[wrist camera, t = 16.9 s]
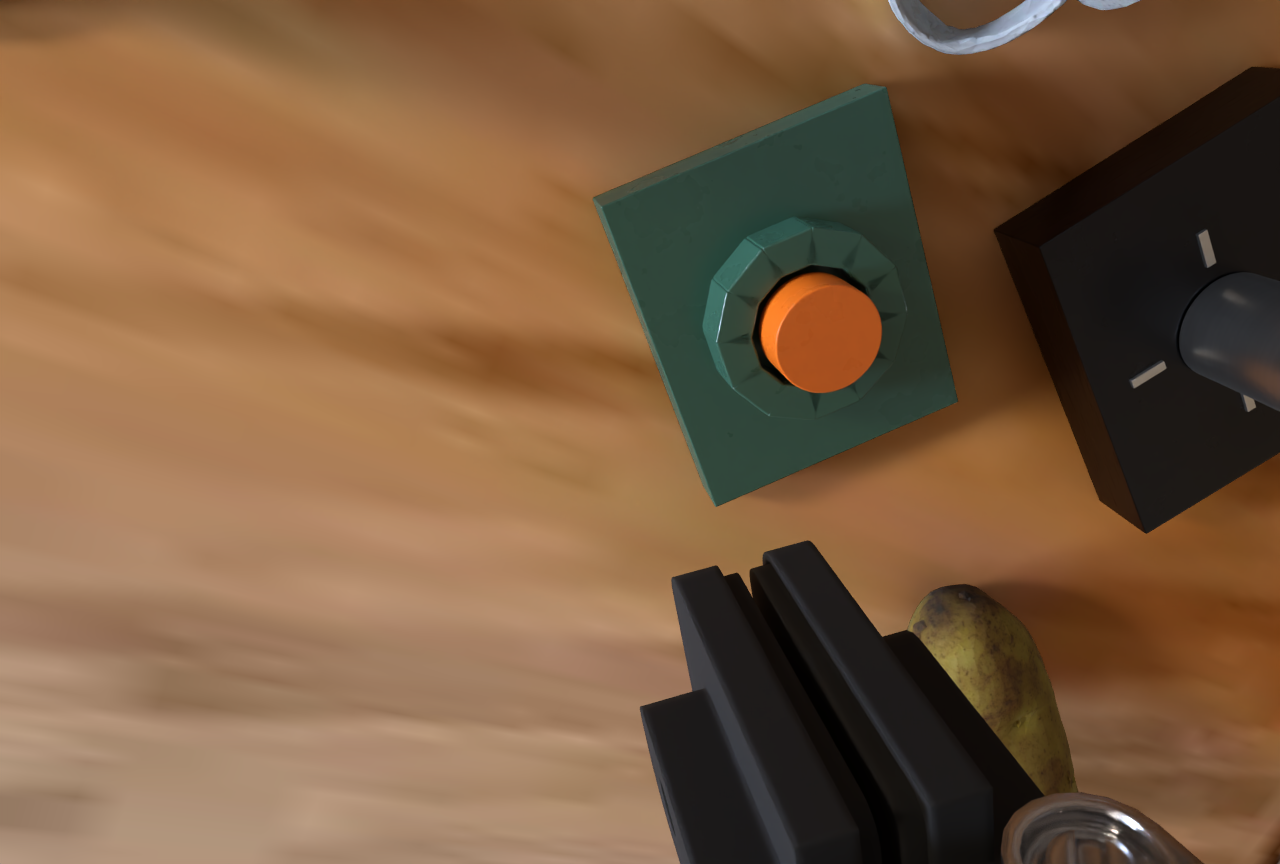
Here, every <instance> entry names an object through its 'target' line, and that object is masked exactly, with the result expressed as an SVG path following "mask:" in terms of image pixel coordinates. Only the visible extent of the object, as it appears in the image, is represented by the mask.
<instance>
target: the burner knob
mask: <svg viewBox="0 0 1280 864" xmlns="http://www.w3.org/2000/svg"><path fill="white" fill-rule="evenodd" d="M1179 347H1180V352H1181V355H1182V358H1183V360H1184V362H1185V363H1186V364H1187V366H1188V367H1189V368H1190V369H1191V370H1193V371H1194V372H1196V373H1198V374H1200V375H1202V376H1204V377H1207V378H1209V379H1211V380H1213V381H1215V382H1217V383H1220V384H1222V385H1224V386H1226V387H1228V388H1230V389H1232V390H1235V391H1237V392H1239V393H1241V394H1243V395H1245V396H1248V397H1250V398H1252V399H1254V400H1256V401H1258V402H1260V403H1263V404H1265V405H1267V406H1269V407H1271V408H1273V409H1276V410H1278V411H1280V281H1277V280H1273V279H1270V278H1267V277H1264V276H1261V275H1257V274H1254V273H1249V272H1240V273H1234V274H1230V275H1227V276H1224V277H1222V278H1220V279H1218V280H1216V281H1215V282H1213V283H1212V284H1210V285H1209V286H1208V287H1206V288H1205V289H1204V290H1203V291H1202V292H1201V293H1200V294H1199V295H1198V296H1197V298H1196V299H1195V300H1194V301H1193V303H1192V304H1191V306H1190V307H1189V309H1188V311H1187V312H1186V315H1185V317H1184V319H1183V322H1182V325H1181V329H1180V335H1179Z"/></svg>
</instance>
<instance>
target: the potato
mask: <svg viewBox="0 0 1280 864" xmlns="http://www.w3.org/2000/svg"><path fill="white" fill-rule="evenodd" d="M907 630H908V631H910V632H913V633H914V634H915V635H916V636H917V637H918V638H919V639H920V640H921V641H922V642H923V643H924V645H925V646H926V647H927V648H928V650H929V651H930V652H931V653H932V655H933V656H934V657H935V658H936V660H937V661H938V662H939V663H940V665H941V666H942V667H943V669H944V670H945V671H946V672H947V674H948V675H949V676H950V677H951V679H952V680H953V681H954V682H955V684H956V685H957V686H958V687H959V689H960V690H961V691H962V692H963V694H964V695H965V696H966V697H967V699H968V700H969V701H970V702H971V704H972V705H973V706H974V708H975V709H976V710H977V711H978V713H979V714H980V715H981V716H982V718H983V719H984V720H985V721H986V723H987V724H988V725H989V726H990V728H991V729H992V730H993V731H994V733H995V734H996V735H997V736H998V738H999V739H1000V740H1001V741H1002V743H1003V744H1004V745H1005V746H1006V748H1007V749H1008V750H1009V752H1010V753H1011V754H1012V755H1013V757H1014V758H1015V759H1016V760H1017V762H1018V763H1019V764H1020V765H1021V767H1022V768H1023V769H1024V770H1025V772H1026V773H1027V774H1028V775H1029V777H1030V778H1031V779H1032V780H1033V782H1034V783H1035V784H1036V785H1037V787H1038V788H1039V789H1040V790H1041V792H1042V793H1043V794H1044V796H1047V795H1051V794H1054V793H1076V792H1078V789H1077V785H1076V781H1075V777H1074V769H1073V765H1072V760H1071V755H1070V749H1069V744H1068V741H1067V737H1066V733H1065V730H1064V727H1063V724H1062V721H1061V718H1060V714H1059V711H1058V708H1057V704H1056V700H1055V695H1054V691H1053V688H1052V684H1051V681H1050V679H1049V677H1048V674H1047V672H1046V669H1045V666H1044V663H1043V660H1042V658H1041V656H1040V653H1039V651H1038V649H1037V647H1036V645H1035V642H1034V640H1033V638H1032V636H1031V635H1030V633H1029V632H1028V630H1027V628H1026V627H1025V626H1024V625H1023V623H1022V622H1021V621H1020V620H1019V619H1018V618H1017V617H1016V616H1014V615H1013V614H1012V613H1010V612H1009V611H1008V610H1007V609H1006V608H1005V607H1003V606H1002V605H1001V604H999V603H998V602H996V601H995V600H994V599H992V598H991V597H990V596H988V595H987V594H986V593H985V592H983V591H982V590H980V589H979V588H977V587H974V586H971V585H967V584H961V585H951V586H945V587H941V588H938V589H936V590H934V591H932V592H930V593H929V594H928V595H927V596H926V597H924V599H923V600H922V601H921V602H920V604H919V605H918V606H917V608H916V610H915V612H914V614H913V616H912V618H911V621H910V623H909V626H908V629H907Z"/></svg>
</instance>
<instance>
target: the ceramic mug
mask: <svg viewBox="0 0 1280 864" xmlns="http://www.w3.org/2000/svg"><path fill="white" fill-rule="evenodd" d="M888 1H889V3H890V6H891V9H892V11H893V12H894V14H895V15H896V17H897V18H898V20H899V21H900V22H901V23H902V24H903V25H904V27H905V28H906V29H907V31H908V32H910V33H911V34H912V35H913V36H914V37H915V38H917V39H918V40H919V41H920V42H921V43H923V44H925V45H927V46H929V47H931V48H933V49H935V50H937V51H940V52H943V53H947V54H958V55H961V54H972V53H977V52H981V51H986V50H990V49H994V48H996V47H998V46H1000V45H1003V44H1006V43H1008V42H1010V41H1012V40H1014V39H1016V38H1017V37H1019V36H1021V35H1023V34H1024V33H1026V32H1028V31H1030V30H1031V29H1032V28H1034V27H1035V26H1036V25H1038V24H1039V23H1040V22H1042V21H1043V20H1044V19H1046V18H1047V17H1048V16H1050V15H1051V14H1052V13H1053V12H1054V11H1055V10H1057V9H1058V8H1059V7H1061V6H1062V5H1063V4H1064V3H1065V2H1066V1H1067V0H1025V1H1024V2H1023V3H1021V4H1020V5H1019V6H1017V7H1016V8H1014V9H1013V10H1011V11H1009V12H1008V13H1006V14H1004V15H1003V16H1001V17H1000V18H998V19H996V20H995V21H992V22H989V23H987V24H984V25H981V26H978V27H976V28H969V29H957V28H955V27H952V26H947V25H945V24H944V23H943V22H942V21H941V20H940V19H939V18H937V17H936V16H935V15H934V14H933V13H932V12H930V11H929V10H928V9H927V8H926V7H925V6H924V5H923V4H922V3H921V2H920V1H919V0H888ZM1078 1H1079V2H1080V3H1082V4H1084V5H1086V6H1089V7H1093V8H1096V9H1099V10H1110V9H1116V8H1122V7H1126V6H1128V5H1131V4H1133V3H1135V2H1138V1H1140V0H1078Z"/></svg>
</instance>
